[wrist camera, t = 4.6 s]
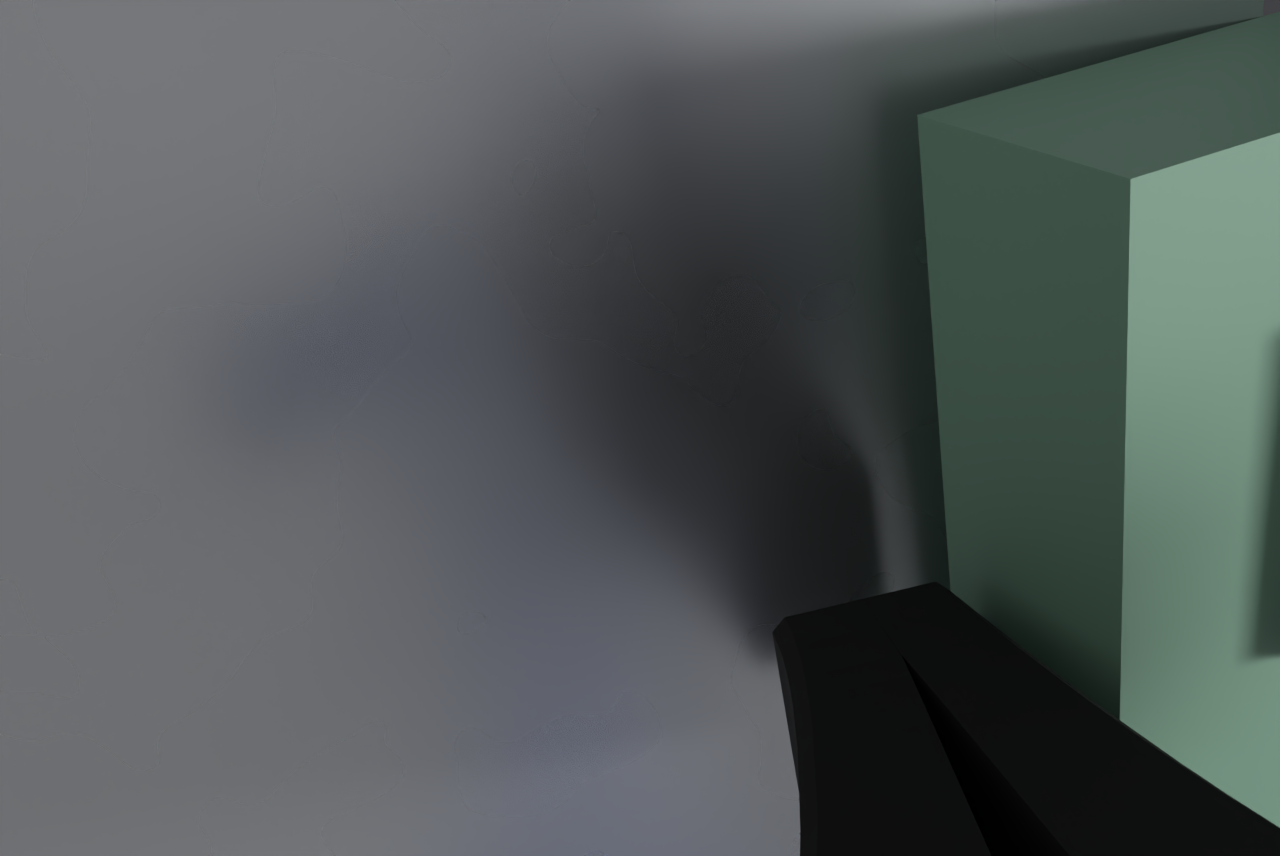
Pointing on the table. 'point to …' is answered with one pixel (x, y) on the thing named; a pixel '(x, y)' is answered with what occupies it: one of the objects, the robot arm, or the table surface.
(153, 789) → the deck
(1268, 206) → the thick sage green slab
